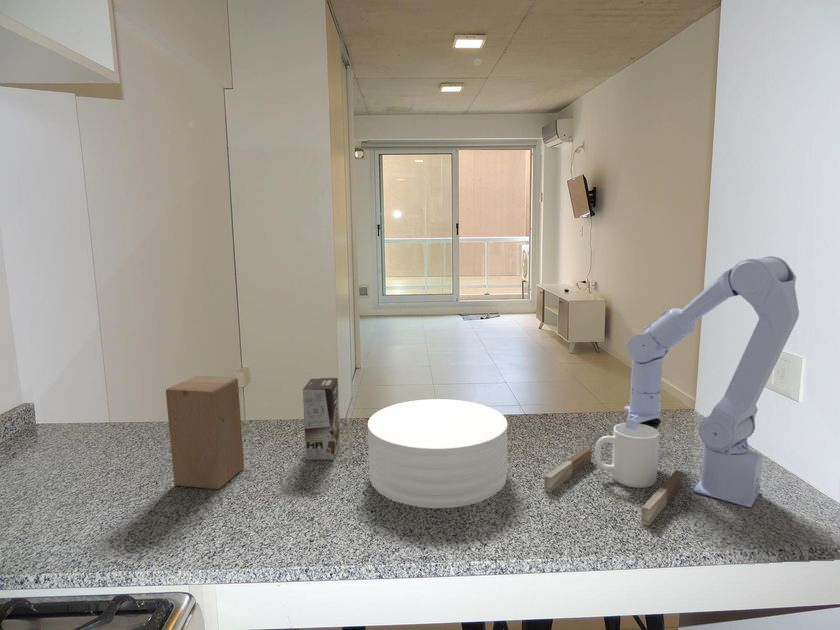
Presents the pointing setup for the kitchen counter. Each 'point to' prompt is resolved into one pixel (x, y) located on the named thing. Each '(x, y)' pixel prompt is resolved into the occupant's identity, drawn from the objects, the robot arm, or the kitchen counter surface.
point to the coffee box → (321, 418)
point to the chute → (648, 509)
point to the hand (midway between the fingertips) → (642, 452)
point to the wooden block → (205, 431)
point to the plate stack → (437, 452)
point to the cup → (632, 455)
